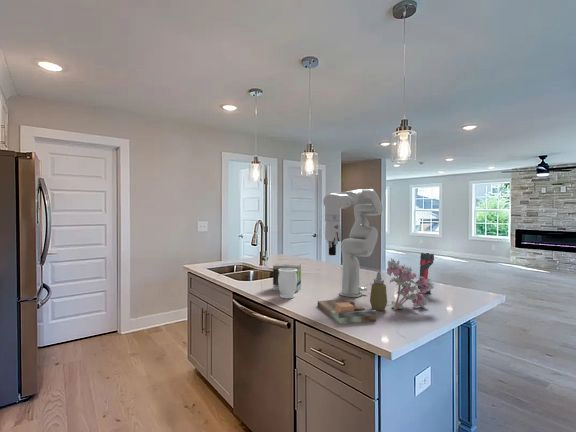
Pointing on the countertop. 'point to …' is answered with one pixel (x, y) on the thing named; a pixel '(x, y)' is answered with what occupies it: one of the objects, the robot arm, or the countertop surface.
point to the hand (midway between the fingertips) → (332, 255)
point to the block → (343, 307)
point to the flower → (408, 285)
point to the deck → (347, 317)
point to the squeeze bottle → (378, 294)
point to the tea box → (278, 266)
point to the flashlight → (425, 265)
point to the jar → (287, 282)
